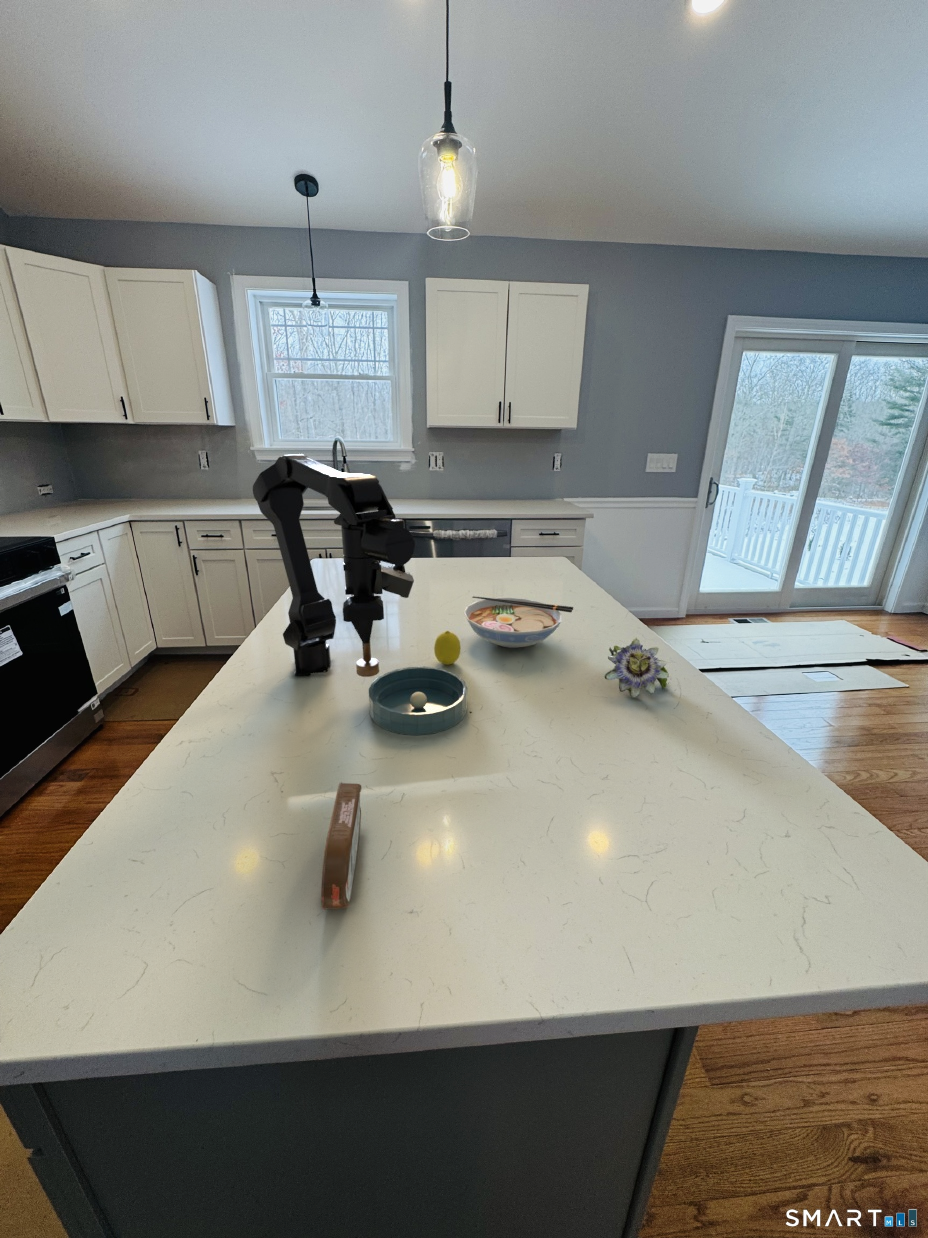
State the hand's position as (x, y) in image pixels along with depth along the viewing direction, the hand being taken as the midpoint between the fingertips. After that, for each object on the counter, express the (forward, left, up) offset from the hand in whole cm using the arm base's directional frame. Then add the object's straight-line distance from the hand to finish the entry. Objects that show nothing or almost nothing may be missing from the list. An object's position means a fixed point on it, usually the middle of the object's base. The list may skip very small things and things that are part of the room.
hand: (366, 641), depth 89 cm
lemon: (+17, +12, -12) cm, 24 cm away
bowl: (+9, -5, -12) cm, 16 cm away
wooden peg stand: (0, 0, -6) cm, 6 cm away
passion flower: (+52, -3, -12) cm, 53 cm away
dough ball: (+9, -5, -12) cm, 15 cm away
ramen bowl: (+34, +22, -12) cm, 42 cm away
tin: (-3, -38, -12) cm, 40 cm away
